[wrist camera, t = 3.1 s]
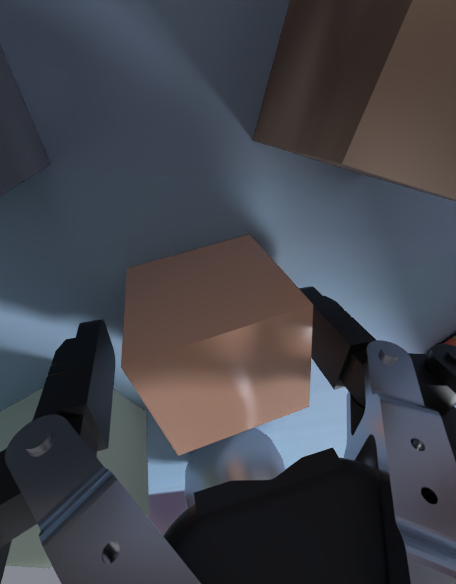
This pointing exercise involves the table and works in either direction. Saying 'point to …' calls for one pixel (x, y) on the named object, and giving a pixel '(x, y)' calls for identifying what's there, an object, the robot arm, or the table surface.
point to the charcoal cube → (16, 134)
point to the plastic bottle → (232, 462)
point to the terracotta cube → (216, 341)
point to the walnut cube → (368, 89)
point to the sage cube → (117, 458)
